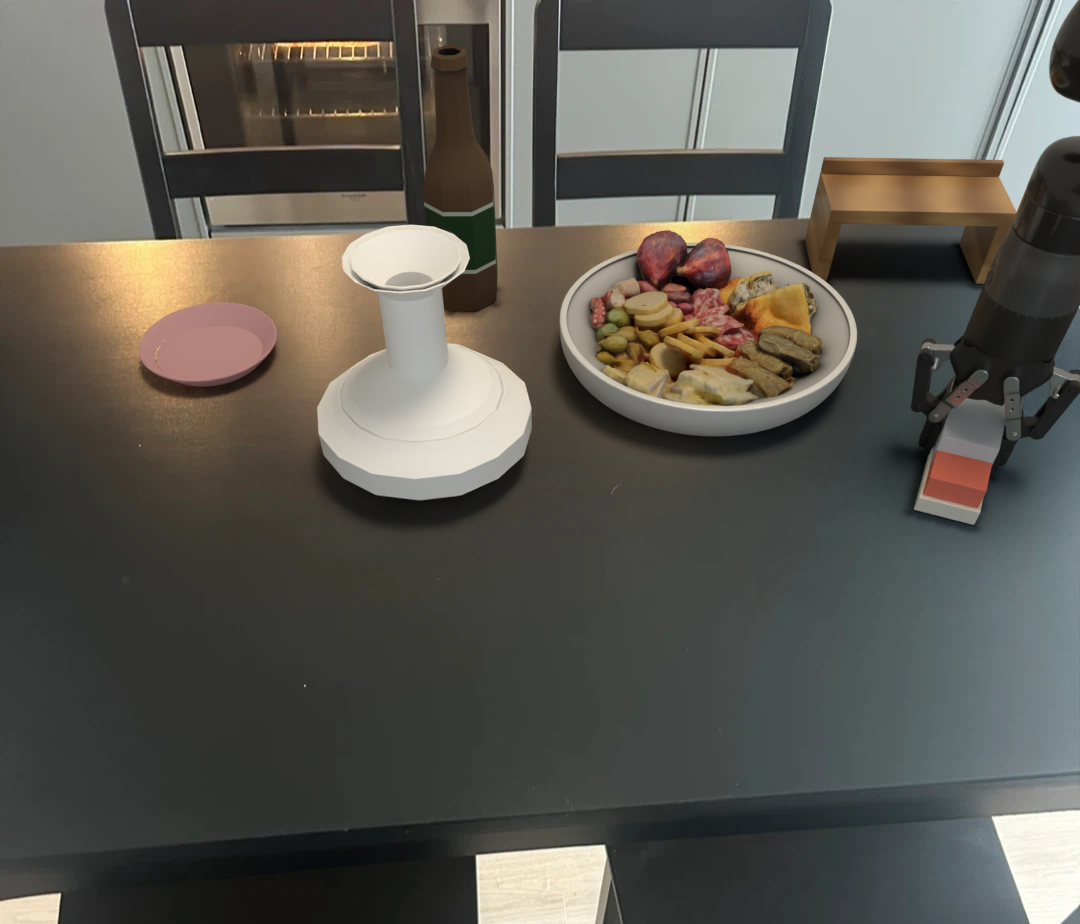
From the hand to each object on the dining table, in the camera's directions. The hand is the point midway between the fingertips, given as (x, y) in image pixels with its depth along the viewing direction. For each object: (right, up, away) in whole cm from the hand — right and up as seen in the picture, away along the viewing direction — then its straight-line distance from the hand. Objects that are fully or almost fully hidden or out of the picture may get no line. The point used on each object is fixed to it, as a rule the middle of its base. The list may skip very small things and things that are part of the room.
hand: (958, 456), depth 89 cm
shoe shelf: (+2, +29, +21) cm, 36 cm away
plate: (-75, +14, +11) cm, 77 cm away
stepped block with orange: (-1, -2, -1) cm, 2 cm away
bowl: (-23, +13, +10) cm, 28 cm away
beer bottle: (-48, +23, +18) cm, 57 cm away
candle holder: (-51, +1, +2) cm, 51 cm away
